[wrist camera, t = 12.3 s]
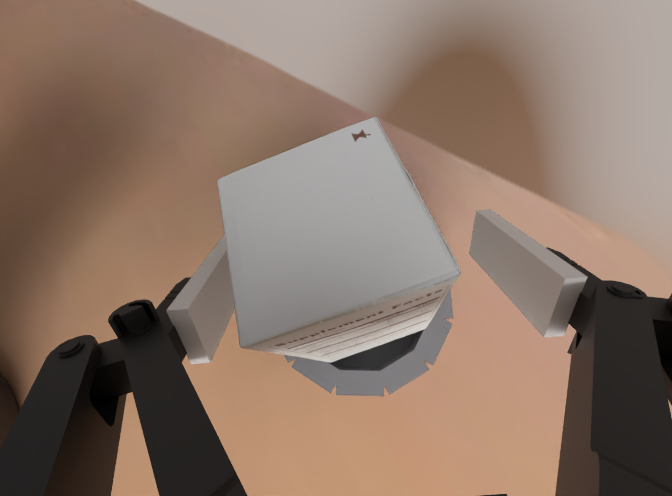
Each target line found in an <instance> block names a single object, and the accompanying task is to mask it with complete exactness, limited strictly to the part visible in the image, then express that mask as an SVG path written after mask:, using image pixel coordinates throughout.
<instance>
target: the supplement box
mask: <svg viewBox="0 0 672 496" xmlns="http://www.w3.org/2000/svg"><path fill="white" fill-rule="evenodd" d="M217 184H218V192H219V198H220V205H221V213H222V220H223V227H224V235H225V242H226V249H227V256H228V263H229V270H230V277H231V284H232V292H233V299H234V306H235V313H236V320H237V327H238V334H239V343H240V347H241V348H245V349H252V350H258V351H264V352H270V353H275V354H282V355H289V356H296V357H301V358H307V359H312V360H318V361H323V362H330V363H331V362H334V361H336V360H339V359H342V358H345V357H348V356H350V355H353V354H356V353H359V352H362V351H365V350H368V349H371V348H373V347H376V346H379V345H382V344H385V343H388V342H390V341H393V340H396V339H399V338H402V337H404V336H407V335H410V334H413V333H416V332H418V331H421V330H424V329H426V328H427V326H428V325H429V323H430V322H431V320H432V318H433V317H434V315H435V314H436V312H437V310H438V309H439V307H440V305H441V303H442V302H443V300H444V298H445V297H446V295H447V293H448V292H449V290H450V289H451V287H452V285H453V284H454V282H455V281H456V280H457V279H458V277H459V276H460V273H461V272H460V267H459V265H458V263H457V260H456V259H455V257H454V256H453V254H452V252H451V250H450V248H449V246H448V244H447V243H446V241H445V239H444V237H443V236H442V234H441V232H440V230H439V229H438V227H437V225H436V223H435V221H434V220H433V218H432V216H431V214H430V212H429V210H428V209H427V207H426V205H425V203H424V202H423V200H422V198H421V196H420V194H419V193H418V191H417V189H416V186H415V184H414V182H413V180H412V178H411V176H410V175H409V173H408V172H407V170H406V169H405V167H404V166H403V164H402V162H401V160H400V158H399V156H398V155H397V153H396V151H395V149H394V148H393V146H392V144H391V142H390V140H389V138H388V137H387V135H386V133H385V131H384V129H383V127H382V125H381V123H380V121H379V119H378V118H377V117H373V118H370V119H367V120H364V121H361V122H358V123H356V124H353V125H350V126H348V127H345V128H342V129H340V130H337V131H335V132H332V133H330V134H327V135H325V136H322V137H320V138H317V139H315V140H312V141H310V142H307V143H305V144H302V145H300V146H298V147H295V148H293V149H290V150H288V151H285V152H283V153H280V154H278V155H275V156H273V157H270V158H268V159H265V160H263V161H260V162H258V163H255V164H253V165H250V166H248V167H245V168H243V169H240V170H238V171H235V172H233V173H230V174H228V175H226V176H224V177H222V178H220V179H219V180H218V181H217Z"/></svg>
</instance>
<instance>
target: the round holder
mask: <svg viewBox="0 0 672 496" xmlns="http://www.w3.org/2000/svg"><path fill="white" fill-rule="evenodd" d="M446 319H453V310H452V300H451V290H449V292H448V293H447V295H446V297H445V298H444V300H443V302H442V303H441V305H440V307H439V309H438V310H437V312H436V314H435V315H434V317H433V318H432V320H431V322H430V323H429V325H428V326H427V328H426V329H424V330H421V331H418V332H416V333H413V334H410V335H407V336H404V337H402V338H399V339H396V340H393V341H390V342H388V343H385V344H382V345H379V346H376V347H373V348H371V349H368V350H365V351H362V352H359V353H356V354H353V355H350V356H348V357H345V358H342V359H339V360H336V361H334V362H331V363H330V362H323V361H318V360H312V359H307V358H301V357H296V356H289V355H284V356H285V358H286V360H287V362H290V361H292V360H294V359H296V360H295V362H294V364H293V365H292V368H294V369H295V370H297V371H298V372H300V373H301V374H303V375H304V376H306V377H307V378H309V379H310V380H312V381H313V382H315V383H316V384H318V385H319V386H321V387H322V388H324V389H325V390H327V391H328V392H330V393H331V392H332V390H333V388H334V386H336V395H358V396H384V387H385V389H386V390H387V392H388V393H389V395H390V394H391V393H393V392H394V391H396V390H398V389H399V388H401V387H402V386H404V385H406V384H407V383H409V382H410V381H412V380H414V379H415V378H417V377H418V376H420V375H422V374H423V373H425V372H426V371H428V370H429V368H428V367H427V365H426V363H428V364H431V365H433V364H434V362H435V360H436V358H437V356H438V354H439V352H440V350H441V347H442V345H443V343H444V341H445V339H446V337H447V335H448V332H449V330H450V328H451V326H452V323H450V322H448V321H447V320H446Z"/></svg>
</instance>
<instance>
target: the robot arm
mask: <svg viewBox="0 0 672 496" xmlns="http://www.w3.org/2000/svg"><path fill="white" fill-rule="evenodd" d="M469 254H470V255H471V257H472V258H473V259H474V260H475V261H476V262H477V263H478V264H479V266H480V267H481V268H482V269H483V270H484V271H485V272H486V273H487V274H488V276H489V277H490V278H491V279H492V280H493V281H494V282H495V283H496V284H497V286H498V287H499V288H500V289H501V290H502V291H503V292H504V293H505V295H506V296H507V297H508V298H509V299H510V300H511V301H512V302H513V303H514V305H515V306H516V307H517V308H518V309H519V310H520V311H521V312H522V314H523V315H524V316H525V317H526V318H527V319H528V320H529V321H530V322H531V324H532V325H533V326H534V327H535V328H536V329H537V330H538V331H539V333H540V334H541V335H542V336H543V337H557V336H564V334H565V332H566V329H567V327H568V324H570V325H571V326H572V327H573V328H574V329H575V330H576V334H575V336H574V338H573V341H572V343H571V345H570V348H569V350H568V352H567V353H569V354H571V353H572V356H571V364H570V373H569V382H568V390H567V399H566V408H565V416H564V425H563V434H562V442H561V451H560V460H559V468H558V477H557V486H556V494H555V496H672V418H671V413H670V408H669V403H668V400H669V402H670V403H671V405H672V294H671V296H670V297H669V299H665V298H656V297H647V295H646V294H645V293H644V292H643V291H641V290H640V289H638V288H636V287H634V286H632V285H629V284H626V283H622V282H617V281H602V280H601V279H599V278H598V277H596V276H595V275H593V274H592V273H590V272H589V271H587V270H586V269H584V268H583V267H581V266H580V265H578V264H577V263H575V262H574V261H572V260H570V259H569V258H568V257H566V256H565V255H563V254H562V253H560V252H558V251H555V250H553V249H550V248H548V247H547V248H545V247H544V246H542V245H541V244H540V243H538V242H537V241H535V240H534V239H532V238H531V237H529V236H528V235H527V234H525V233H524V232H522V231H521V230H519V229H518V228H516V227H515V226H514V225H512V224H511V223H509V222H508V221H506V220H505V219H504V218H502V217H501V216H499V215H498V214H496V213H495V212H493V211H492V210H491V209H487V210H476V215H475V221H474V227H473V233H472V240H471V246H470V252H469ZM234 309H235V306H234V299H233V292H232V284H231V277H230V270H229V263H228V256H227V249H226V242H225V235H223V237H222V238H221V239H220V241H219V242H218V243H217V244H216V246H215V247H214V248H213V250H212V251H211V252H210V254H209V255H208V256H207V258H206V259H205V260H204V262H203V263H202V264H201V265H200V267H199V268H198V269H197V271H196V272H195V273H194V275H193V276H192V277H190V278H185V279H183V280H182V281H180V282H179V283H178V284H176V285H175V287H174V288H173V289H172V290H171V291H170V293H169V294H168V295H167V296H166V298H165V300H163V301H162V302H161V304H160V305H159V306H158V307H157V309H156V310H155V308H154V306H153V304H152V302H151V301H149V300H136V301H133V302H130V303H127V304H125V305H123V306H121V307H120V308H118V309H117V310H115V311H114V312H113V313H112V314H111V315H110V316H109V319H108V322H109V324H110V325H111V327H112V329H113V330H114V332H115V334H116V335H117V337H118V338H117V339H114V340H110V341H107V342H103V343H100V344H98V342H97V341H96V339H95V338H94V337H93V336H91V335H83V336H79V337H76V338H73V339H70V340H68V341H66V342H64V343H62V344H60V345H59V346H58V347H57V348H55V349H54V350H53V351H52V352H51V353H50V354H49V355H48V357H47V358H46V360H45V362H44V364H43V366H42V368H41V370H40V372H39V374H38V376H37V378H36V380H35V382H34V384H33V385H32V387H31V389H30V391H29V393H28V395H27V397H26V399H25V401H24V403H23V405H22V407H21V409H20V411H19V413H18V410H17V405H16V402H15V398H14V396H13V393H12V391H11V389H10V387H9V385H8V384H7V382H6V381H5V379H4V378H3V377H2V376H1V374H0V496H111V490H112V484H113V477H114V471H115V465H116V458H117V452H118V446H119V439H120V433H121V427H122V420H123V414H124V407H125V401H126V395H127V393H130V392H133V395H134V399H135V403H136V407H137V411H138V415H139V419H140V422H141V426H142V430H143V434H144V438H145V442H146V446H147V450H148V453H149V457H150V461H151V465H152V469H153V473H154V477H155V480H156V484H157V488H158V492H159V496H247V494H246V492H245V490H244V488H243V486H242V484H241V482H240V480H239V478H238V476H237V474H236V472H235V470H234V468H233V466H232V464H231V462H230V460H229V458H228V456H227V454H226V452H225V450H224V448H223V446H222V444H221V441H220V439H219V437H218V435H217V433H216V431H215V429H214V427H213V425H212V423H211V421H210V419H209V417H208V415H207V413H206V411H205V409H204V407H203V405H202V403H201V401H200V399H199V397H198V395H197V393H196V391H195V389H194V387H193V385H192V383H191V381H190V379H189V377H188V375H187V373H186V371H185V369H184V366H183V364H182V361H183V359H184V357H185V356H186V354H187V356H188V358H189V360H190V363H191V364H202V363H210V362H211V360H212V358H213V356H214V353H215V351H216V349H217V347H218V345H219V342H220V340H221V338H222V336H223V333H224V331H225V329H226V327H227V324H228V322H229V320H230V318H231V315H232V313H233V311H234ZM482 496H507V494H497V495H482Z"/></svg>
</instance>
